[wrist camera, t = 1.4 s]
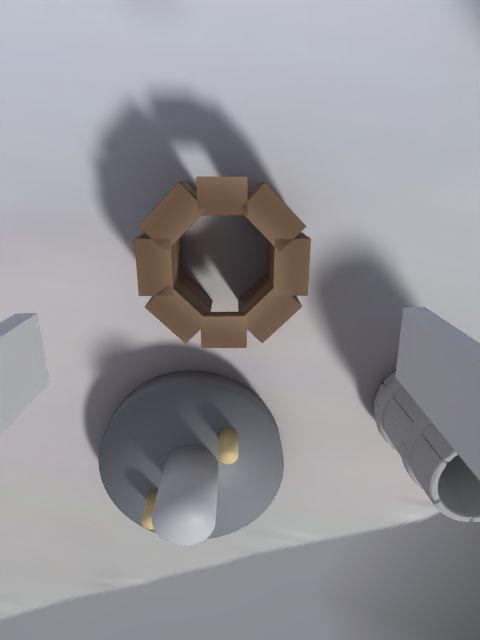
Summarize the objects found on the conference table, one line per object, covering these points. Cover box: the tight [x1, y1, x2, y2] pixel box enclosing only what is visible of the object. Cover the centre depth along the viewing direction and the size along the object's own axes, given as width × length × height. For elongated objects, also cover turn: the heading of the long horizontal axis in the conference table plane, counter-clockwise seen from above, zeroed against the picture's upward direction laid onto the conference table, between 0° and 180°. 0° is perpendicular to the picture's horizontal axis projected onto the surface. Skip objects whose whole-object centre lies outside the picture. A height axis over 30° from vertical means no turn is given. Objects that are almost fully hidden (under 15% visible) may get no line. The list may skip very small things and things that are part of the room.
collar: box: [134, 177, 311, 348], centre depth 28 cm, size 11×11×5 cm
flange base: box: [99, 371, 284, 545], centre depth 32 cm, size 15×15×8 cm
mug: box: [374, 371, 480, 522], centre depth 29 cm, size 8×12×12 cm, turn 32°
